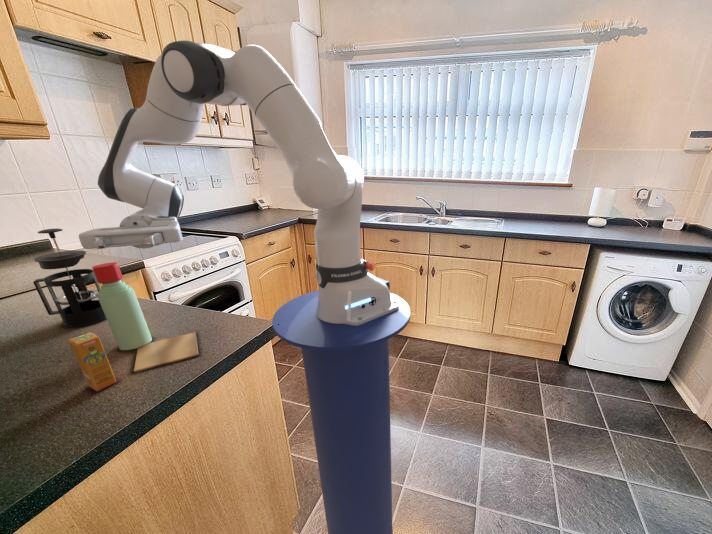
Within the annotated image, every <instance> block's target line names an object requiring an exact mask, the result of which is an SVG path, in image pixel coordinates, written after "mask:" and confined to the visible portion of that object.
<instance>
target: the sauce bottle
mask: <svg viewBox="0 0 712 534" xmlns="http://www.w3.org/2000/svg"><path fill="white" fill-rule="evenodd" d="M97 300H99V302H100V304H101V306H102V309H103V311H104V314H105V316H106V318H107V319H106V321H107V323H108V325H109V328H110V330H111V333H112V335H113V337H114V340H115V342H116V344H117V347H118V350H120V351H131V350H134V349H138V347H141V346H144V345H146V344H148V343H151V342H153V337H152V334H151V331H150V329H149V326H148V324H147V321H146V318H145V316H144V312H143V311H142V308H141V305H140V303H139V300H138V297H137V294H136V292H135V289H134V288H133V287H132V285H129V284H128V283H126V282H125V281H122V279H121V280H118V281H114V282H110V283H101V285H100V290H99V293H98V297H97Z"/></svg>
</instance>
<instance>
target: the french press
mask: <svg viewBox="0 0 712 534" xmlns="http://www.w3.org/2000/svg"><path fill="white" fill-rule="evenodd" d="M63 230H64V229H63V228H58V227H57V228H46V229H42V230H39V231H37V234H48V236H49V237H50V239H52V241H53V243H54V245H55V247H56V250H57V251H56V252H51V253H47V254H42V255H39V256H37V257H34V259H33V260H34V262H35V263H38V264H39V266H40V269H41V270H59V269H60V270H61V269H65V271H60V272H56V273H53V274H49V275H47V276H46V277H43V278H42V277H41V278H36V279H35V280H34V281H33V282H32V283H33V285H34V287H35V289H36V291H37V293H38V295H39V298H40V299H41V302H42V304H43V306H44V308H45V310H46V312H47V314H48V315H49V316H54V315H59V316H60V318H61V320H62V325H63V326H64V327H65V328H71V329H72V328H74V329H75V328H82V327H88V326H91V325H95V324H98V323H100V322H102V321H105V320H107V318H106V316H105V314H104V311H103V309H102V306H101V304H100V302H99V299H98V293H99V290H100V289H101V285H100V283H98V281H97V279H96V277H95V274H94V272H93V269H92V268H90V269H89V268H79V269H78V268H77V269H70V270H69V268H71V267H74V266H77V265H78V264H79V263H80V261H81V260H83V259H84V258H85V255H87V252H86V250H75V249H74V250H63V251H61V249H60V247H59V245H58V243H57V240H56V238H57V237H56V233H59V232H62V231H63ZM66 277H69V279H64V280H59V279H62V278H66ZM90 280H93V282H94V284H95V287H96V289H88V286H87V285H86V283H85V282H88V281H90ZM41 282H44V284H45V286H46V287H47V290H48V292H49V294H50V296H51V298H52V300H53V303H54V305H55V307H56V309H57V310H53V309H52V307H51V305H50V303H49V301H48V299H47V297H46V295H45V293H44V290H43V288H42V286H41V284H40V283H41ZM53 287H55V288H57V287H60V288H61V289H62V292H63V294H64V295H61V296H58V297H57V295H56V293H55V290H54V288H53ZM62 306H65V307H63V308H62Z"/></svg>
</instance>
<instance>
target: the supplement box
mask: <svg viewBox="0 0 712 534" xmlns="http://www.w3.org/2000/svg"><path fill="white" fill-rule="evenodd" d="M67 341H68V344H69V346H70V348H71V350H72V352H73V354H74V356H75V359H76V361H77V363H78V365H79V368H80V370H81V372H82V374H83V376H84V379H85V382H86V384H87V386H88V387H89V388H91V389H92V390H94V391H96V392H99V391H101V390H103V389H106V388H107V387H110V386H112V385H114V384H116V383H117V380H116V376H115V374H114V372H113V369H112V366H111V364H110V361H109V359H108V356H107V353H106V351H105V348H104V346H103V344H102V340H101V338H100V336H98V335H97V334H95V333H93V332H91V331H89V332H86V333H84V334H81V335H78V336H75V337H72V338H69V339H68V340H67Z"/></svg>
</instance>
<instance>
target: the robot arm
mask: <svg viewBox="0 0 712 534" xmlns="http://www.w3.org/2000/svg"><path fill="white" fill-rule="evenodd" d="M206 104H207V105H212V106H213V105H214V106H221V107H231V106H233V107H234V106H247V107H248V109H250V111H251V113H252V114H253V115H254V117H255V118H256V120H257V121H258V122H259V123H260V125H261V126H262V128H263V129H264V131H265V132H266V133H267V135H268V136H269V138H270V139H271V140H272V142H273V143H274V144H275V146H276V147H277V149H278V150H279V152H280V154H281V155H282V157H283V159H284V161H285V164H286V165H287V168H288V171H289V172H290V174H291V177H292V187H293V191H294V193H295V195H296V197H297V198H298V200H299V201H300V202H301V203H302V204H303V205H305V206H306V207H308V208H311V209H313V210H314V209H315V210H317V218H316V223H315V226H314V230H313V237H314V247H315V256H316V262H315V278H316V284H317V285H318V290H319V298H318V307H317V312H316V315H317V317H318V318H319V319H320V320H322V321H325V322H328V323H335V324H348V325H353V326H358V325H361V324H363V323H366V322H368V321H371V320H373V319H376V318H378V317H381V316H383V315H386V314H388V313H391V312H393V311H395V310H398V309H399V303H398V301H397V300H396V299H395V298H394V297H392V296H391V295H390V291H391V290H390V289H391V288H390V287H391V286H390V285H391V284H390V281H389V280H386V279H383V278H381V277H377V276H375V275H374V274H372V273H370V272H373V271H375V269H376V264H375V263H373V262H372V261H367V260H365V259H363V258H362V253H361V252H362V251H361V219H362V217H361V216H362V208H363V207H362V206H363V188H364V184H365V183H364V182H365V175H364V171H363V169H362V167H361V166H360V165H359V163H358V162H357V161H356V160H354V159H353V158H351V157H350V156H348V155H345V154H337V153H336V152H335V150H334V149H333V148H332V146H331V144H330V143H329V140H328V139H327V135H326V134H325V132H324V129H323V127H322V121H321V120H320V117H318V115H317V113H316V112H315V110H314V109H313V108H312V107H311V104H310V103H309V102H308V100H307V99H306V97H305V96H304V94H303V93H302V92H301V90H300V88H299V87H298V85H296V83H295V82H294V80H293V78H292V77H290V75H289V73H287V71H286V70H285V69H284V68H283V66H282V65H281V64H280V63H279V62H278V61H277V59H276V58H275V57H273V55H272V54H271V53H270V52H268V51H267V50H266V49H265V48H264V47H263V46H260V45H256V44H247V45H244V46H242V47H240V48H238V49H237V50H236V51H235V50H230V49H228V48H224V47H221V46H218V45H215V44H212V43H205V42H194V41H193V40H192V41H191V40H176V41H172V42H170V43H168V44H166V46H164V48H163V50H162V52H161V54H159V55H158V56H157V58H156V60H155V62H154V65H153V68H152V71H151V74H150V77H149V80H148V85H147V90H146V96H145V100H144V102H143V104H142V105H141V106H139V107H131V108H130V109H129V110H128V111H127V112H126V113H125V114H124V116H123V117H122V120H121V121H120V124H119V126H118V128H117V130H116V133H115V136H114V139H113V141H112V144H111V147H110V149H109V152H108V155H107V158H106V160H105V162H104V164H103V167H102V168H101V170H100V172H99V173H98V177H97V186H98V188H99V189H100V190H101V192H102V193H103V194H104V196H105V197H106V198H107V199H110V200H114V201H117V202H121V203H126V204H129V205H132V206H135V207H137V208H140V209H139V210H137V211H136V212H133V213H131V214H130V215H128V216H126V217H124V218H123V219H122V220H121V221H120V223H119V226H115V227H114V226H112V227H100V228H99V227H98V228H93V229H89V230H85V231H83V232H80V233H79V234H78V240H79V242H80V245H81V247H82V248H83V249H85V250H92V249H93V250H94V249H97V250H102V249H106V248H120V247H134V248H136V249H142V250H143V249H150V248H153V247H156V246H157V247H158V246H160V245H164V244H171V243H172V244H173V243H180V242H182V241H183V240H184V238H183V233H182V230H181V229H182V228H181V225H180V223H179V221H178V219H179V218H180V216H181V214H182V211H183V207H184V203H185V199H184V198H185V197H184V194H183V192H182V189H181V187H180V186H179V185H178V184H177V183H175V182H172V181H170V180H167V179H165V178H162V177H160V176H156V175H153V174H151V173H149V172H146V171H144V170H141V169H139V168H136V167H135V166H134V165H132V163H131V161H132V160H133V159H132V158H133V156H134V153H135V150H136V149H137V146H138V144H139V143H157V144H163V145H172V146H173V145H182V144H183V145H184V144H186V143H189V142H191V141H192V140H193V139H195V138H196V136H197V134H198V132H199V130H200V126H201V124H202V120H203V119H202V118H203V114H204V110H205V109H204V108H205V106H206ZM368 270H369V271H370V272H369V271H368Z"/></svg>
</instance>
